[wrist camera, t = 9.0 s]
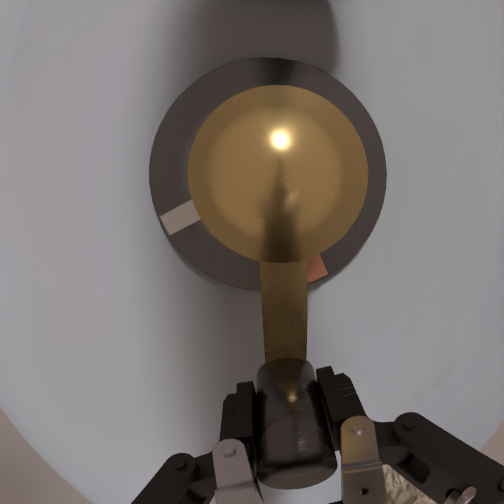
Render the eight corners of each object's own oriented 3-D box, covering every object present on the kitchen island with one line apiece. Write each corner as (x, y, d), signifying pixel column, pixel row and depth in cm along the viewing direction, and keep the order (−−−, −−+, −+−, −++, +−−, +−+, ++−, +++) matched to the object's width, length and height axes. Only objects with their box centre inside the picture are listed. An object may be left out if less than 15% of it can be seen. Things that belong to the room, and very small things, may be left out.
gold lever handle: (195, 106, 12) (131, 42, 5) (344, 99, 12) (426, 41, 5) (224, 382, 16) (209, 490, 9) (341, 374, 16) (377, 474, 9)
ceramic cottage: (328, 493, 30) (351, 573, 16) (410, 425, 27) (463, 513, 12) (393, 492, 33) (419, 552, 18) (462, 431, 30) (505, 492, 15)
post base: (120, 128, 18) (75, 117, 13) (320, 35, 16) (340, -5, 11) (218, 317, 22) (207, 364, 16) (408, 230, 20) (452, 251, 14)
